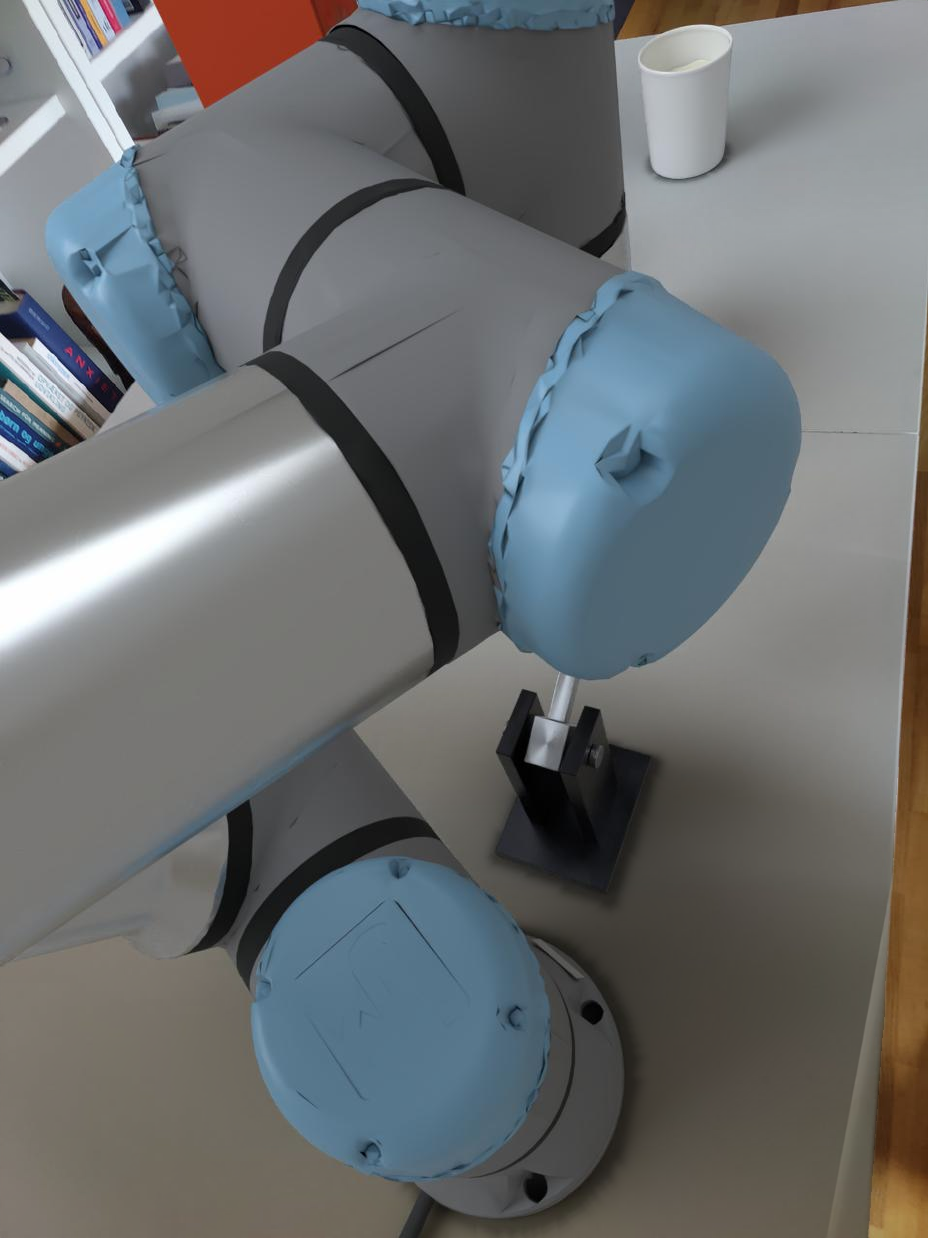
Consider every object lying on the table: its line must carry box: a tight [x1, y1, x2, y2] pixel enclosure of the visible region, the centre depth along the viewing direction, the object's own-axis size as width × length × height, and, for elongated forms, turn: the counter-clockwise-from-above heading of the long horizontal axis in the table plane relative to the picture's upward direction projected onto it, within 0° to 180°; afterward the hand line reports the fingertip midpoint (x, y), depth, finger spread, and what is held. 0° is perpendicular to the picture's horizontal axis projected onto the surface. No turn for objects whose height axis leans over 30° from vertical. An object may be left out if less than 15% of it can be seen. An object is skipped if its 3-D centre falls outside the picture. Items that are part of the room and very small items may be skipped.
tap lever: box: [524, 671, 581, 772], centre depth 51 cm, size 13×6×2 cm, turn 157°
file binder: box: [152, 0, 358, 110], centre depth 92 cm, size 8×17×32 cm, turn 70°
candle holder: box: [637, 24, 734, 180], centre depth 95 cm, size 10×10×12 cm
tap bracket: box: [494, 688, 653, 895], centre depth 55 cm, size 10×8×13 cm
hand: (602, 613), depth 55 cm, fingers open, 6 cm apart
